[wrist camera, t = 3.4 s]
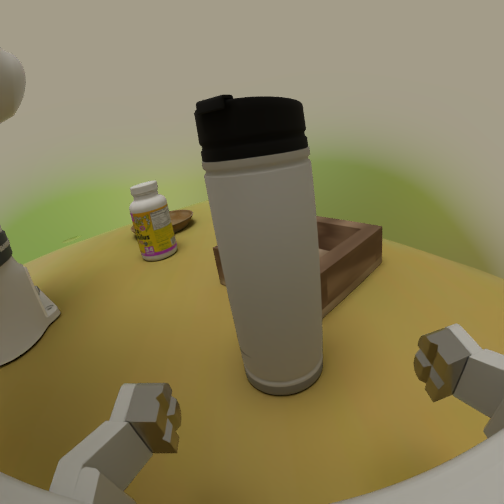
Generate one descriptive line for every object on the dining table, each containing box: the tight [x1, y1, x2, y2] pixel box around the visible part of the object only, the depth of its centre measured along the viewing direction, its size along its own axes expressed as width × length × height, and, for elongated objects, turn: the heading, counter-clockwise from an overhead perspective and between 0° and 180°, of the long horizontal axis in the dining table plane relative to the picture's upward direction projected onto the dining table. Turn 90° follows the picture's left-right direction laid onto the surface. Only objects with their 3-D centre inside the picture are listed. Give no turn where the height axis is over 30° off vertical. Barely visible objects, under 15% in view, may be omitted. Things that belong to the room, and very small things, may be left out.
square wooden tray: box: [213, 216, 382, 318], centre depth 37 cm, size 15×15×5 cm
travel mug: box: [194, 95, 323, 395], centre depth 19 cm, size 6×7×20 cm
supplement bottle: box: [129, 181, 177, 261], centre depth 50 cm, size 7×7×13 cm
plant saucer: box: [131, 210, 193, 234], centre depth 66 cm, size 15×15×3 cm
